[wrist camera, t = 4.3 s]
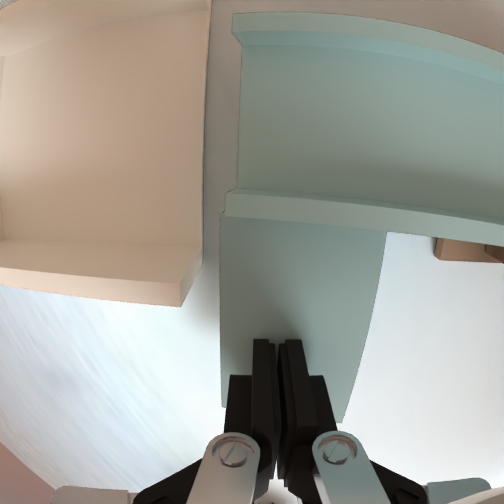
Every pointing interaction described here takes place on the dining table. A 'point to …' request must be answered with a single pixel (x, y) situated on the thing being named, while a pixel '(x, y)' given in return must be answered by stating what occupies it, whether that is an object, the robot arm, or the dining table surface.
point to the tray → (103, 147)
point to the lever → (348, 176)
